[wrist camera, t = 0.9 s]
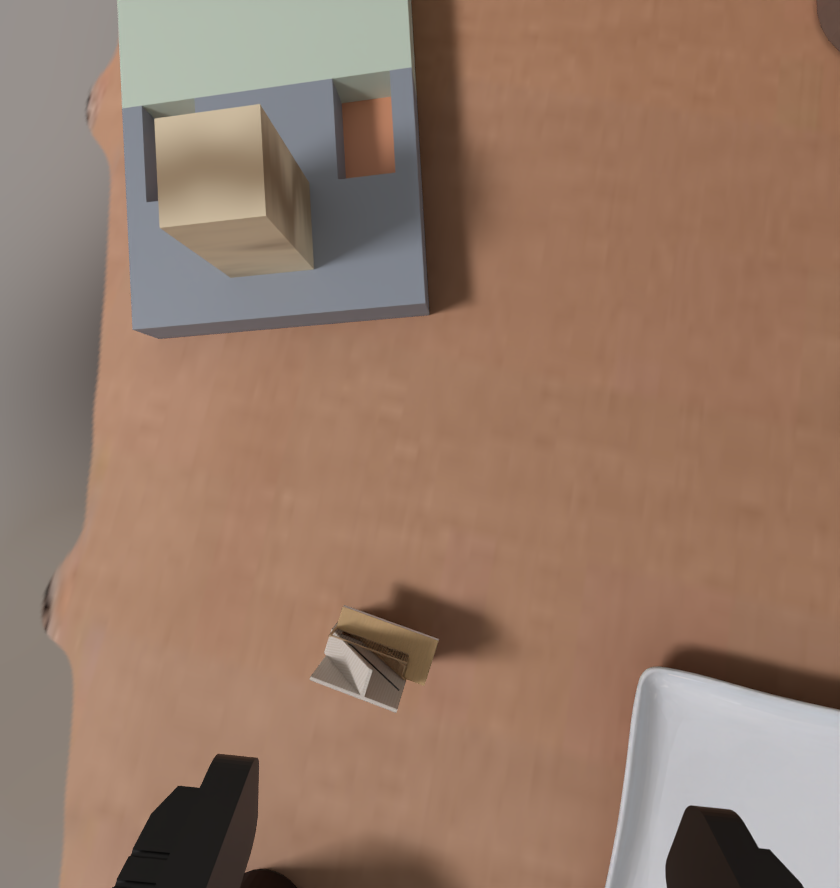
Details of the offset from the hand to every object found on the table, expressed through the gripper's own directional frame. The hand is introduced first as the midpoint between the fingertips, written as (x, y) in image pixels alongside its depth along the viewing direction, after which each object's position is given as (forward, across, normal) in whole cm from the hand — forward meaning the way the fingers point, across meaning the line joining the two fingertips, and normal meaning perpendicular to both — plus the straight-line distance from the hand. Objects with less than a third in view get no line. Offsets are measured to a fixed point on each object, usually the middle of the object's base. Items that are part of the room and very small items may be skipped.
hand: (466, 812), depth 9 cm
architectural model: (+24, +3, +16) cm, 29 cm away
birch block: (+31, +13, -11) cm, 35 cm away
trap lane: (+36, +14, -17) cm, 42 cm away
